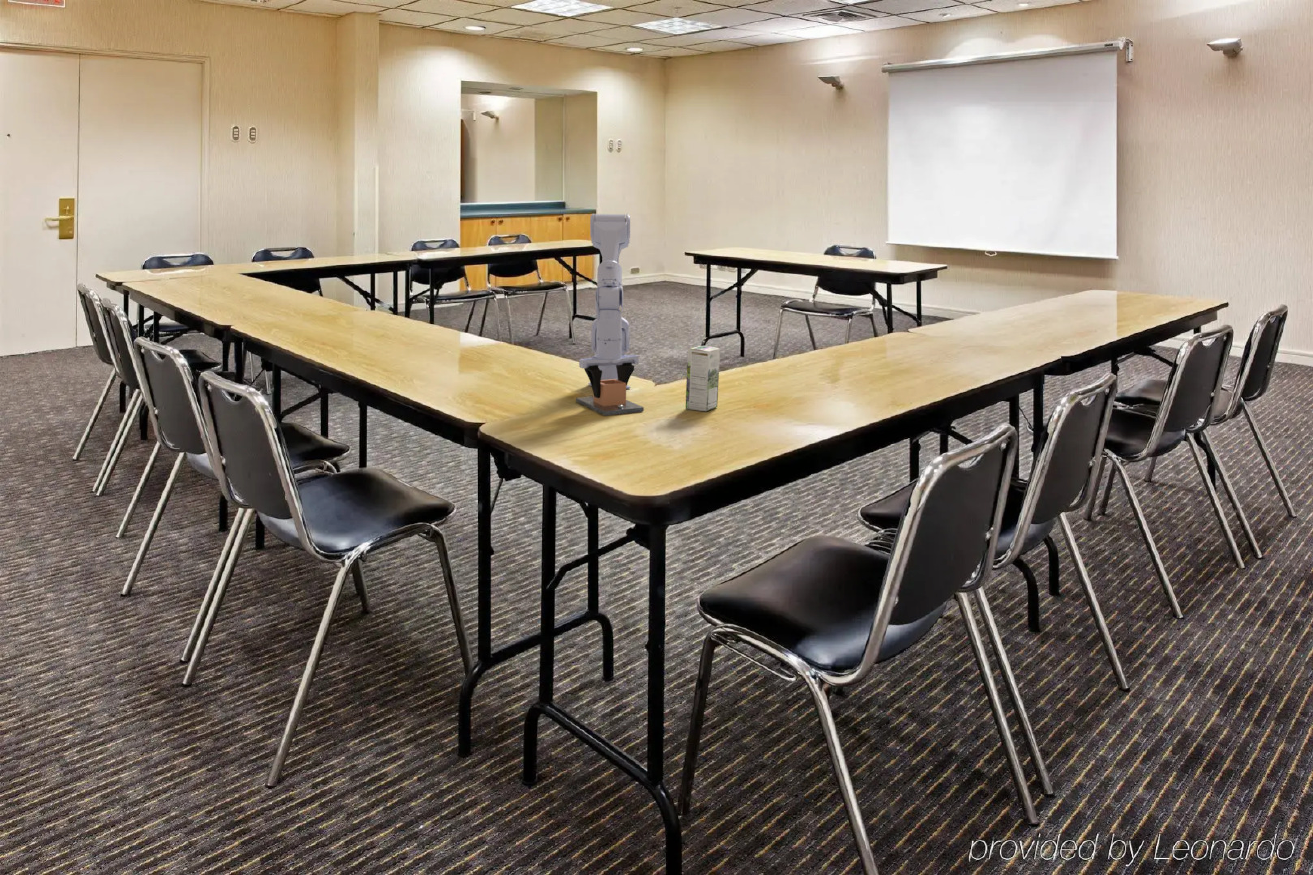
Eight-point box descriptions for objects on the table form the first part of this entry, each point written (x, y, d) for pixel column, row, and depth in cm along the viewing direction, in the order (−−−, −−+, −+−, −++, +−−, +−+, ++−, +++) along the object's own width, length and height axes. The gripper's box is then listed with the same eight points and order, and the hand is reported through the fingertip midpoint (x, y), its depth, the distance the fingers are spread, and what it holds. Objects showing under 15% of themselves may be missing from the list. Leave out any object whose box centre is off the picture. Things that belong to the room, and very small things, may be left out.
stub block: (576, 402, 237) (576, 389, 236) (613, 398, 241) (613, 386, 241) (604, 415, 223) (604, 402, 222) (643, 411, 228) (643, 398, 227)
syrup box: (696, 404, 236) (698, 344, 232) (718, 407, 233) (720, 347, 229) (685, 409, 231) (686, 348, 227) (707, 412, 228) (709, 350, 224)
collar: (593, 401, 233) (593, 380, 232) (615, 399, 236) (615, 378, 234) (603, 406, 228) (603, 385, 227) (626, 403, 231) (626, 383, 229)
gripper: (588, 343, 221) (588, 401, 225) (644, 339, 228) (644, 396, 232) (575, 338, 227) (575, 396, 231) (631, 335, 234) (630, 390, 238)
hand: (609, 395), depth 232 cm, fingers closed on collar, 6 cm apart
